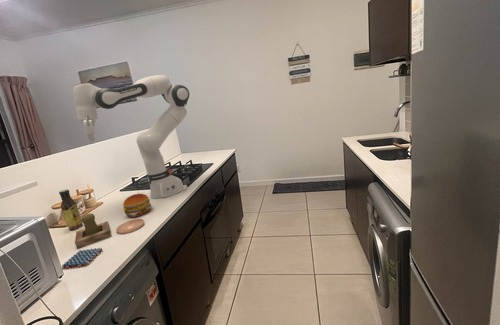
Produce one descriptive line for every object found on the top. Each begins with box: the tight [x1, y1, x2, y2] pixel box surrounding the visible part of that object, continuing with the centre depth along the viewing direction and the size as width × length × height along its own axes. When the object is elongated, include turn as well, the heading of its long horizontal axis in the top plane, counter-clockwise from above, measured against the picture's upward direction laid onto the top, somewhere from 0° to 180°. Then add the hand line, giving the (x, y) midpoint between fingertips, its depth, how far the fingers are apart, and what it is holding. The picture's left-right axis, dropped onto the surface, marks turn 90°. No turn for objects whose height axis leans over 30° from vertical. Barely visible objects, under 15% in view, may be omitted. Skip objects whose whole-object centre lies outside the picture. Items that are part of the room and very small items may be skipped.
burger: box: [122, 193, 152, 218], centre depth 136 cm, size 13×14×10 cm
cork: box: [81, 212, 101, 236], centre depth 116 cm, size 6×6×11 cm
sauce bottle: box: [58, 189, 83, 231], centre depth 129 cm, size 7×6×20 cm
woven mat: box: [61, 247, 104, 270], centre depth 99 cm, size 10×11×2 cm
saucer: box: [116, 218, 145, 235], centre depth 121 cm, size 12×12×1 cm
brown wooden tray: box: [74, 221, 112, 250], centre depth 117 cm, size 13×13×3 cm
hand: (92, 142), depth 137 cm, fingers open, 8 cm apart
